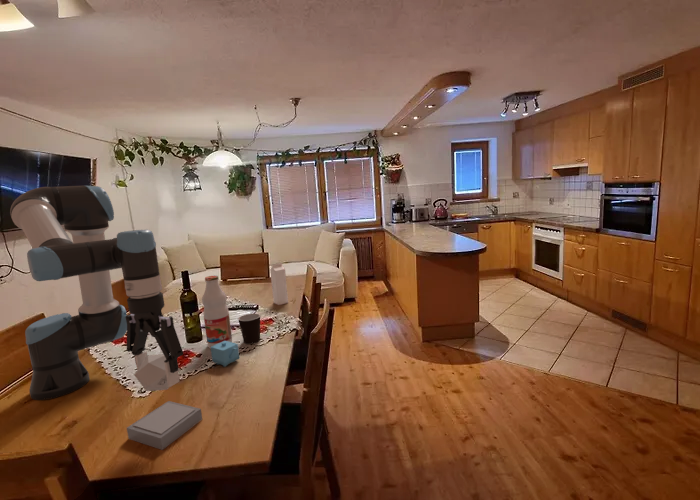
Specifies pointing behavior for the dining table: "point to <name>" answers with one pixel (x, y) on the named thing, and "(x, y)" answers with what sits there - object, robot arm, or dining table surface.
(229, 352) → the blue spouted cube
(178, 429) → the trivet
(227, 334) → the fruit juice
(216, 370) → the dining table surface
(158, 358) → the die
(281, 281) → the milk
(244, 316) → the black cup
